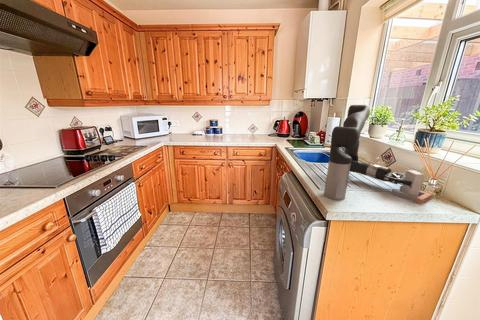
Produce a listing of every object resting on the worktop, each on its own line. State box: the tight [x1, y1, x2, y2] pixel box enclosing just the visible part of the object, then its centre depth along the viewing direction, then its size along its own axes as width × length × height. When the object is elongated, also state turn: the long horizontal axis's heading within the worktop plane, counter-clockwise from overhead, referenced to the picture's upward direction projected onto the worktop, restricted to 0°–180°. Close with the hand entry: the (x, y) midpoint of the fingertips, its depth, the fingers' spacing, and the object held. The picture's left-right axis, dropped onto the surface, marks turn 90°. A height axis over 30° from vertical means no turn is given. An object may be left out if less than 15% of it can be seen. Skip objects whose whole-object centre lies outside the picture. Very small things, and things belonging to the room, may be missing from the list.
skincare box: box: [400, 170, 425, 197], centre depth 96 cm, size 6×4×12 cm
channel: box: [390, 185, 433, 205], centre depth 97 cm, size 12×12×2 cm
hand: (415, 182), depth 95 cm, fingers open, 8 cm apart
